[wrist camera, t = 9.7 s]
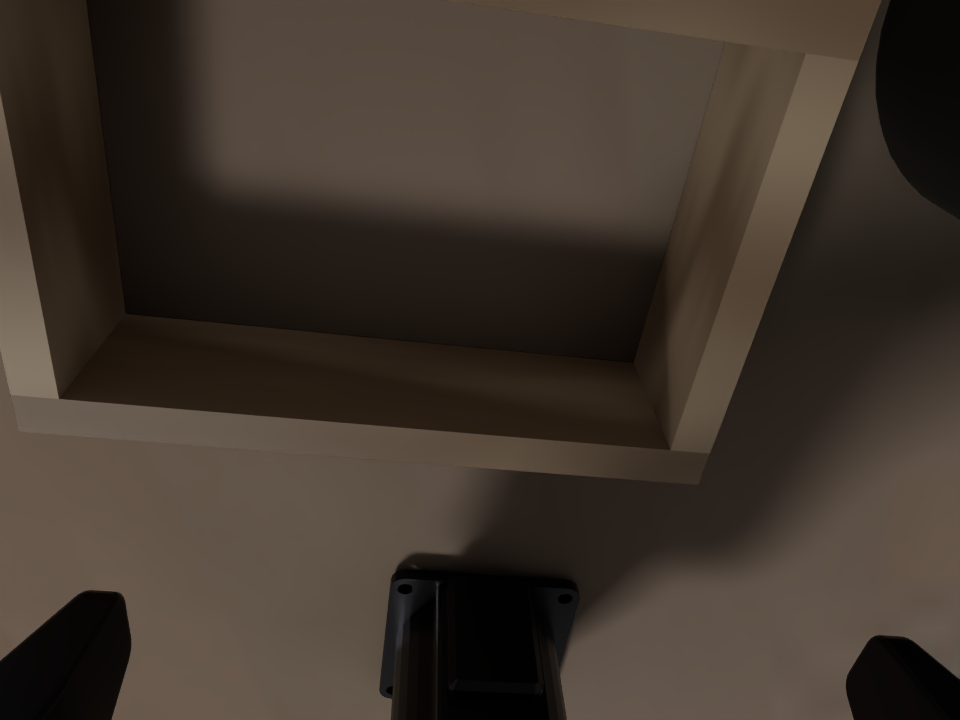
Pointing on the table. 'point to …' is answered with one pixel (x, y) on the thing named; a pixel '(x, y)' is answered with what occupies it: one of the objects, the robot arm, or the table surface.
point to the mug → (922, 95)
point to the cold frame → (404, 364)
